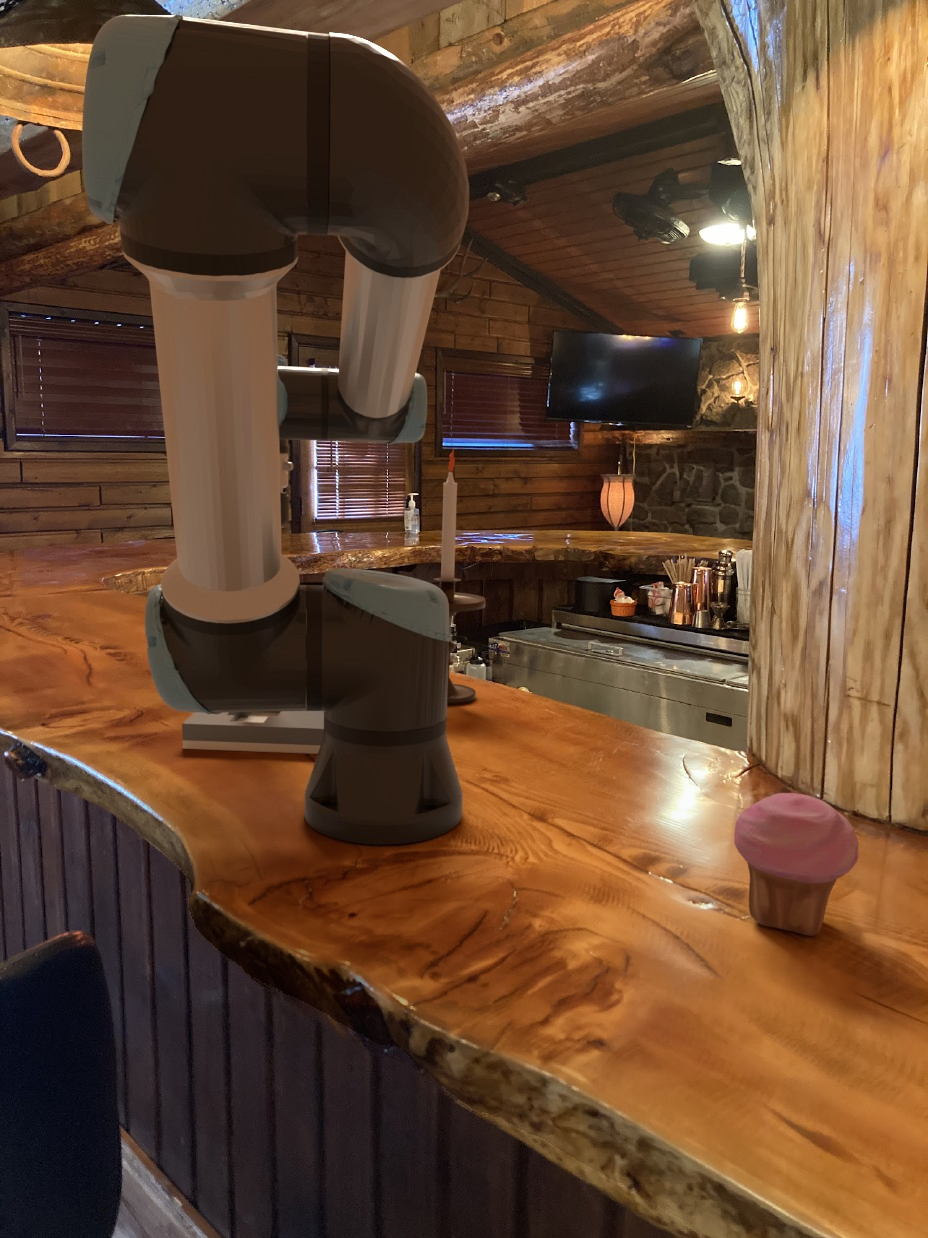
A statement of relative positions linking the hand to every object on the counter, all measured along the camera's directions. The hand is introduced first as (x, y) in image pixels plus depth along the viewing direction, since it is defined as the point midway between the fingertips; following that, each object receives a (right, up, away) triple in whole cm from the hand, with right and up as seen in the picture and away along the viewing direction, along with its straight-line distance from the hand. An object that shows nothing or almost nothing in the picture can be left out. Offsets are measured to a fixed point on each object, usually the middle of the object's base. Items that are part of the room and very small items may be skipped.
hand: (257, 683), depth 112 cm
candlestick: (+22, -4, +20) cm, 30 cm away
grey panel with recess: (+6, -6, +1) cm, 9 cm away
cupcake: (+50, -16, -41) cm, 67 cm away
